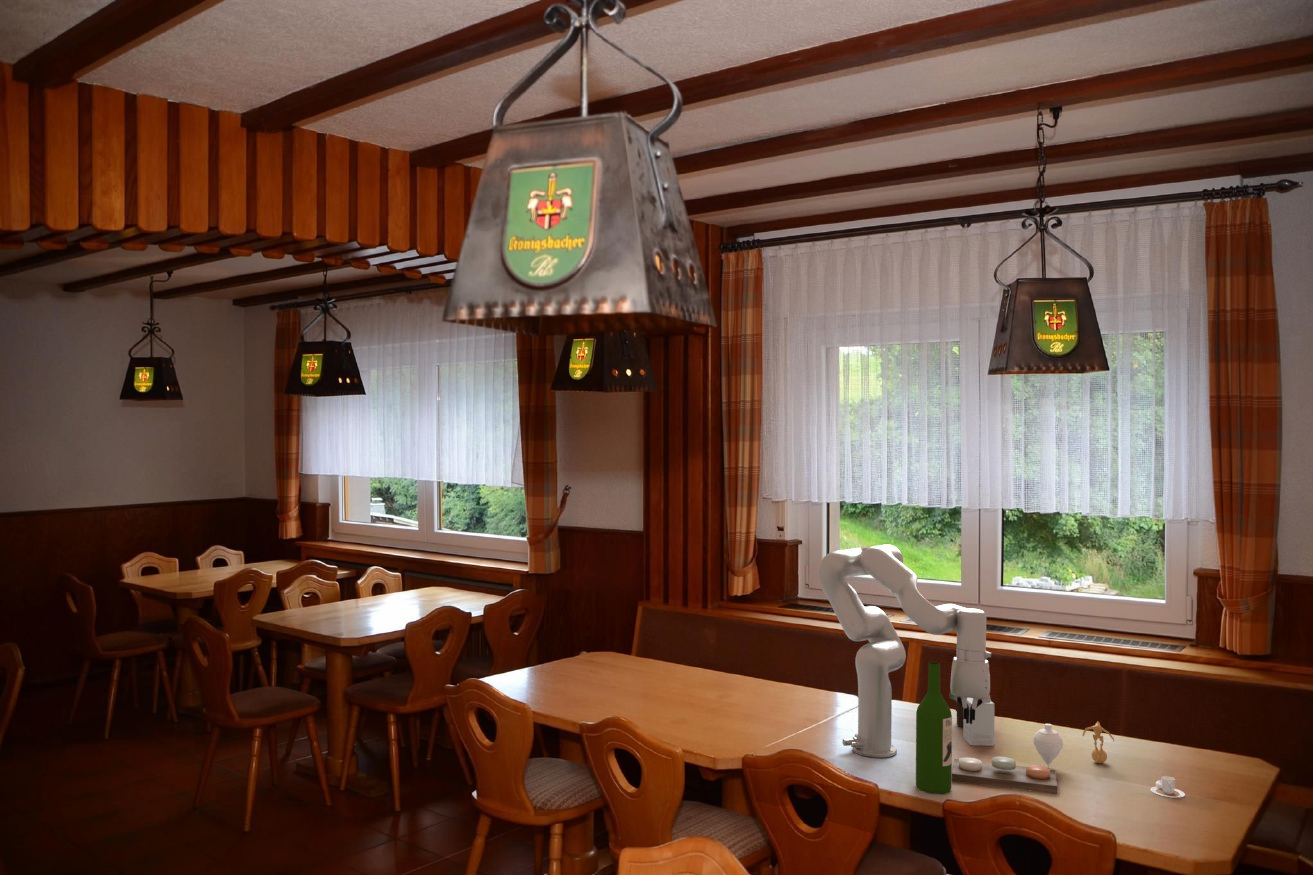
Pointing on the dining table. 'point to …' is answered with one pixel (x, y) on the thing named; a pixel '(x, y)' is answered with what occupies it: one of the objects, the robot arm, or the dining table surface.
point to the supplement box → (980, 725)
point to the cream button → (970, 764)
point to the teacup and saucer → (1167, 787)
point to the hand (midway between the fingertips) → (969, 722)
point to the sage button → (1003, 763)
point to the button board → (1004, 778)
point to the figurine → (1100, 754)
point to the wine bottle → (933, 738)
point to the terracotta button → (1037, 771)
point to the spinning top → (1048, 743)
